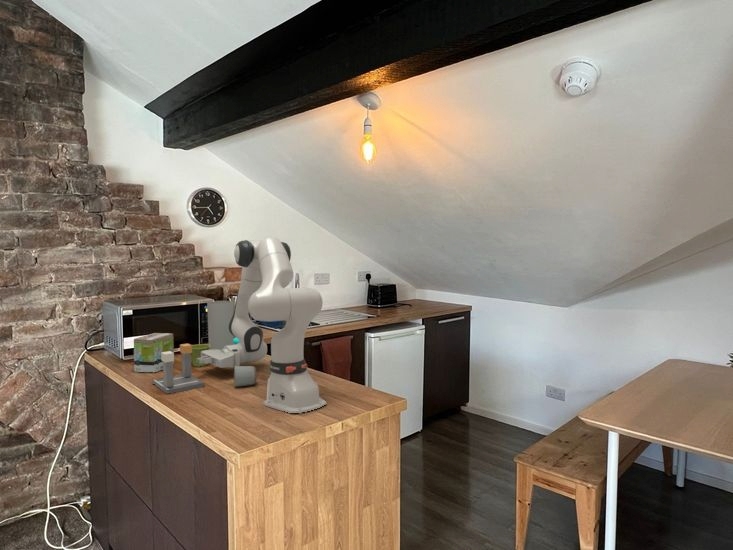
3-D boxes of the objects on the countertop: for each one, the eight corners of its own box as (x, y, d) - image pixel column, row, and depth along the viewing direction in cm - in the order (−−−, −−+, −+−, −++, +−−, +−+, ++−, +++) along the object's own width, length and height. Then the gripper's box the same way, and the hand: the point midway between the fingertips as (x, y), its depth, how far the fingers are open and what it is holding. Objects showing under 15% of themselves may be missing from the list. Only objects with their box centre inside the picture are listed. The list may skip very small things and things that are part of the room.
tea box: (155, 373, 203) (153, 339, 202) (133, 373, 204) (132, 338, 203) (175, 364, 217) (173, 332, 216) (154, 364, 219) (153, 332, 218)
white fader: (175, 386, 178) (173, 353, 177) (166, 387, 176) (164, 354, 175) (171, 383, 181) (169, 351, 180) (162, 385, 179) (161, 352, 178)
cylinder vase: (228, 347, 252) (226, 300, 250) (238, 351, 242) (237, 302, 241) (205, 351, 244) (203, 302, 242) (214, 355, 234) (213, 304, 233)
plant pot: (187, 364, 218) (186, 345, 217) (209, 361, 222) (208, 343, 221) (190, 369, 209) (189, 349, 209) (212, 366, 214) (211, 347, 213)
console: (204, 386, 183) (204, 382, 183) (166, 394, 174) (166, 390, 174) (187, 376, 197) (187, 373, 197) (151, 383, 188) (151, 379, 188)
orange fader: (192, 376, 191) (191, 345, 190) (184, 377, 189) (183, 346, 188) (188, 373, 195) (187, 343, 194) (181, 375, 193) (179, 344, 192)
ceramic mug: (257, 386, 183) (256, 366, 182) (235, 389, 180) (234, 369, 179) (253, 379, 192) (253, 360, 192) (232, 382, 190) (232, 362, 189)
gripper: (219, 344, 211) (188, 349, 202) (240, 352, 196) (207, 357, 187) (220, 358, 212) (189, 364, 203) (241, 367, 196) (208, 373, 187)
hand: (198, 361), depth 195 cm, fingers closed
